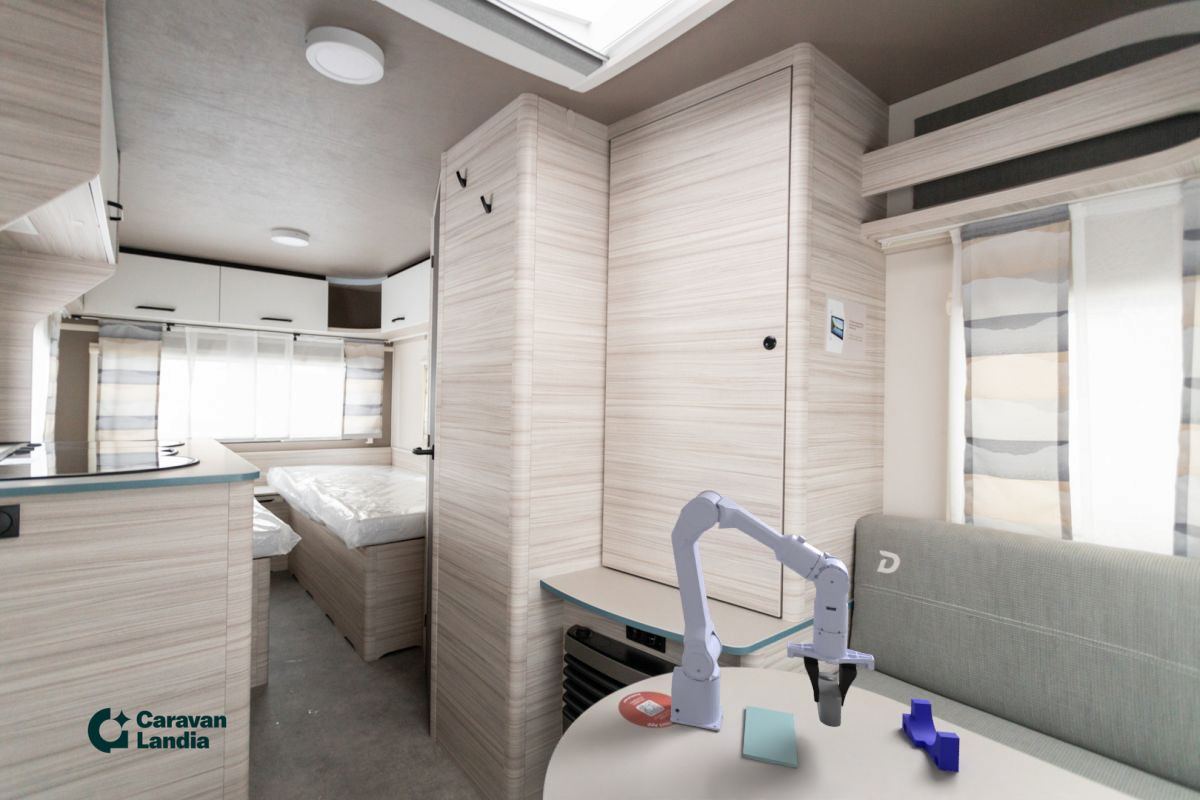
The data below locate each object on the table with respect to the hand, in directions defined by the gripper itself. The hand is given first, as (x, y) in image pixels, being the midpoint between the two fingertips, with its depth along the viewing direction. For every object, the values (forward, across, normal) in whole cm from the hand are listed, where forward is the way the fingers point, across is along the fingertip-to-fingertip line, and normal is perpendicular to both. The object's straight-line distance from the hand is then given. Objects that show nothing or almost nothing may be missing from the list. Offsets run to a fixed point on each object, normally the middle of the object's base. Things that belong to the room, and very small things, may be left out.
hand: (828, 701), depth 100 cm
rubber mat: (+8, -10, 0) cm, 13 cm away
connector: (+2, 0, 0) cm, 2 cm away
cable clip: (+9, +18, +6) cm, 21 cm away
